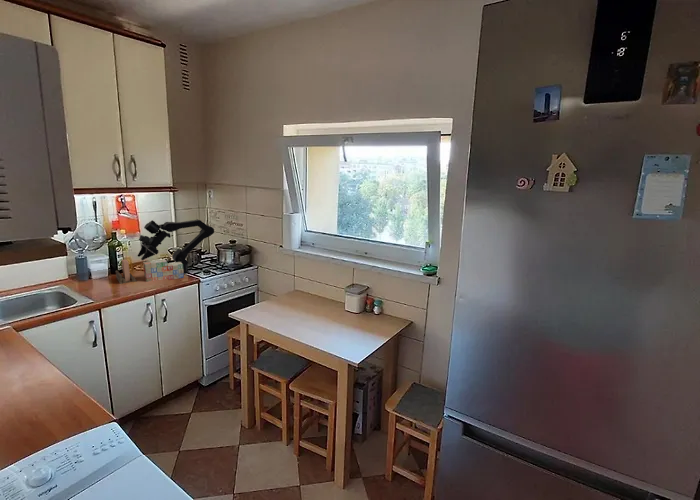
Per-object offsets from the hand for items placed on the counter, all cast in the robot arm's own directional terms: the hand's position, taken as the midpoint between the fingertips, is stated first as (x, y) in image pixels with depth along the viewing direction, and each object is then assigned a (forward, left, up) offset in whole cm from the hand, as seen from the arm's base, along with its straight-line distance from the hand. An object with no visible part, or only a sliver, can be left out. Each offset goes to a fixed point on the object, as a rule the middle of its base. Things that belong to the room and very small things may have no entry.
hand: (139, 258), depth 229 cm
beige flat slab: (+7, -3, -13) cm, 15 cm away
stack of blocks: (-8, +11, -14) cm, 19 cm away
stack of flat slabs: (+7, -3, -14) cm, 16 cm away
